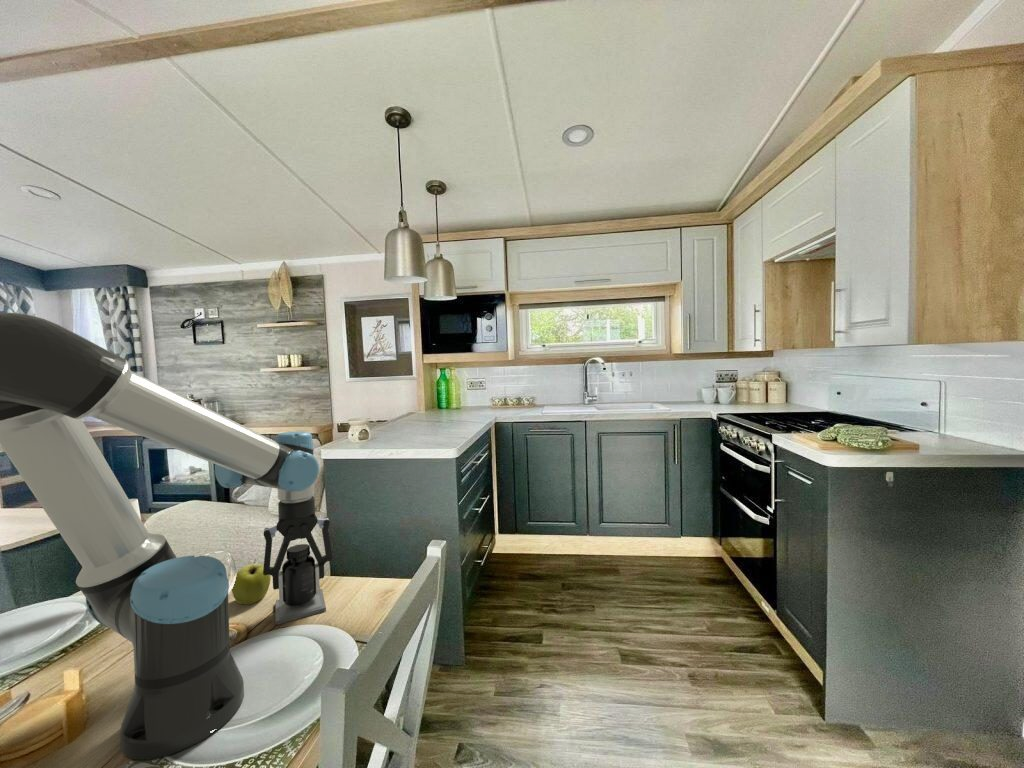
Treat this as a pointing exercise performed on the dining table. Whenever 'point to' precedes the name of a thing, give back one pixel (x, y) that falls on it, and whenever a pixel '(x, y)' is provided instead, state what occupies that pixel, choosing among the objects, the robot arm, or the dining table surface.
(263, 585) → the apple
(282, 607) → the slate coaster
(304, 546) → the supplement bottle
